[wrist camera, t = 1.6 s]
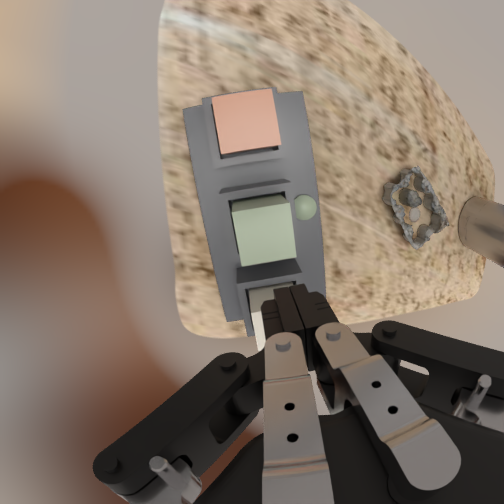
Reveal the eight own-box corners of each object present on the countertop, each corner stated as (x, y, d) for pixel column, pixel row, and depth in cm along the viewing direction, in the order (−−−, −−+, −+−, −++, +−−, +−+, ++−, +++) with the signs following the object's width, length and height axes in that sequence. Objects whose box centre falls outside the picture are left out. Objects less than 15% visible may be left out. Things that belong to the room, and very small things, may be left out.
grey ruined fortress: (435, 220, 36) (451, 227, 32) (403, 248, 37) (418, 257, 33) (410, 160, 32) (427, 162, 29) (374, 188, 34) (389, 193, 30)
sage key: (279, 193, 29) (289, 202, 23) (285, 238, 30) (296, 257, 25) (232, 201, 29) (231, 212, 23) (240, 245, 30) (241, 266, 25)
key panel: (299, 93, 29) (312, 81, 23) (323, 299, 39) (336, 321, 33) (184, 111, 29) (173, 102, 24) (227, 316, 39) (225, 341, 33)
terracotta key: (264, 102, 25) (271, 88, 20) (272, 147, 27) (281, 144, 21) (216, 109, 25) (211, 97, 20) (224, 154, 27) (221, 154, 21)
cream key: (290, 278, 32) (301, 304, 26) (294, 313, 34) (304, 342, 28) (248, 285, 32) (250, 313, 27) (255, 320, 34) (258, 351, 28)
